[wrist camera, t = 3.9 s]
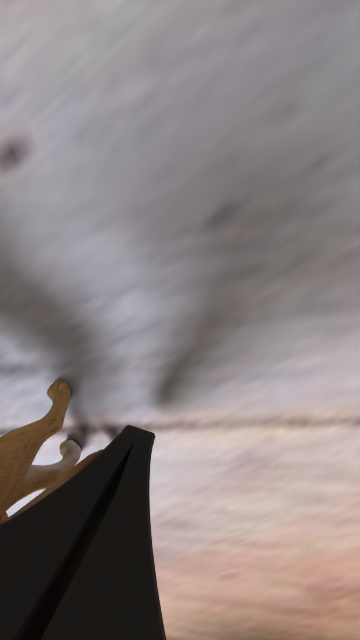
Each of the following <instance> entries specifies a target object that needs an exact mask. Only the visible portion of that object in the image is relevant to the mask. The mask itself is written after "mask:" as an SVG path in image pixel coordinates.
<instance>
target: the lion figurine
mask: <svg viewBox="0 0 360 640" xmlns="http://www.w3.org/2000/svg"><path fill="white" fill-rule="evenodd" d="M47 395H48V396H49V398H50V399H51V400H52V401H53V405H52V408H51V410H50V411H49V412H48V414H46V415H45V416H44V417H43V418H42V419H40V420H38V421H36V422H33V423H31V424H28V425H26V426H23V427H20V428H18V429H15V430H12V431H10V432H8V433H7V434H5V435H3V436H2V437H0V525H1V524H3V523H5V522H6V521H8V520H10V519H11V518H13V517H15V516H17V515H18V514H20V513H21V512H23V511H24V510H26V509H28V508H29V507H31V506H32V505H34V504H35V503H37V502H38V501H40V500H41V499H43V498H44V497H45V496H47V495H48V494H50V493H51V492H53V491H54V490H55V489H57V488H58V487H59V486H61V485H62V484H64V483H65V482H66V481H67V480H69V479H70V478H71V477H73V476H74V475H75V474H76V473H78V472H79V471H80V470H81V469H82V468H83V467H85V466H86V465H87V464H88V463H89V462H91V461H92V460H93V459H94V458H95V457H96V456H97V455H98V454H99V453H101V452H102V451H103V450H104V449H103V450H99V451H97V452H95V453H93V454H91V455H89V456H87V457H86V458H85V459H83V460H82V461H81V462H79V463H78V464H76V463H77V462H78V460H79V458H80V455H81V449H80V447H79V446H78V444H77V443H76V442H74V441H73V440H66V441H64V442H62V444H61V445H60V454H61V455H62V456H63V458H62V460H61V461H60V462H58V463H55V464H51V465H45V466H42V465H31V464H32V462H33V460H34V458H35V456H36V454H37V452H38V450H39V449H40V447H41V446H42V444H43V443H44V442H45V441H46V440H47V439H48V438H49V437H51V436H52V435H54V434H55V433H57V432H58V431H59V430H61V428H62V426H63V422H64V417H65V413H66V410H67V407H68V404H69V401H70V398H71V392H70V389H69V387H68V385H67V384H66V383H65V382H63V381H55V382H54V383H53V384H52V385H51V386H50V387H49V389H48V391H47ZM75 464H76V465H75ZM74 465H75V466H74ZM41 489H46V490H44V491H43V492H42V493H41V494H39V495H38V496H37V497H35V498H34V499H33V500H32V501H30V502H29V503H28V504H26V505H25V506H24V507H22V508H21V509H20V510H18V511H17V512H16V513H14V514H13V515H11V516H10V517H8V515H7V513H6V511H7V510H8V509H9V508H10V507H11V506H12V505H14V504H15V503H16V502H17V501H19V500H21V499H22V498H24V497H26V496H28V495H29V494H31V493H33V492H35V491H38V490H41Z"/></svg>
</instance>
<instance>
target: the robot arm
mask: <svg viewBox="0 0 360 640" xmlns="http://www.w3.org/2000/svg"><path fill="white" fill-rule="evenodd" d="M154 440H155V434H154V433H152V432H149V431H146V430H143V429H140V428H137V427H134V426H131V425H128V426H126V427H125V428H124V429H123V430H122V432H121V433H120V434H119V435H118V436H117V437H116V438H115V439H114V440H113V441H112V442H111V443H110V444H109V445H108V446H107V447H106V448H105V449H104V450H103V451H102V452H101V453H99V454H98V455H97V456H96V457H95V458H94V459H93V460H92V461H91V462H89V463H88V464H87V465H86V466H85V467H83V468H82V469H81V470H80V471H79V472H78V473H76V474H75V475H74V476H73V477H71V478H70V479H69V480H67V481H66V482H65V483H64V484H62V485H61V486H59V487H58V488H57V489H55V490H54V491H53V492H51V493H50V494H48V495H47V496H45V497H44V498H43V499H41V500H40V501H38V502H37V503H35V504H34V505H32V506H31V507H29V508H28V509H26V510H24V511H23V512H21V513H20V514H18V515H17V516H15V517H13V518H11V519H10V520H8V521H6V522H5V523H3V524H1V525H0V640H166V636H165V630H164V625H163V619H162V613H161V607H160V601H159V594H158V588H157V580H156V572H155V565H154V557H153V548H152V537H151V524H150V502H149V480H150V461H151V453H152V447H153V443H154Z"/></svg>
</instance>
